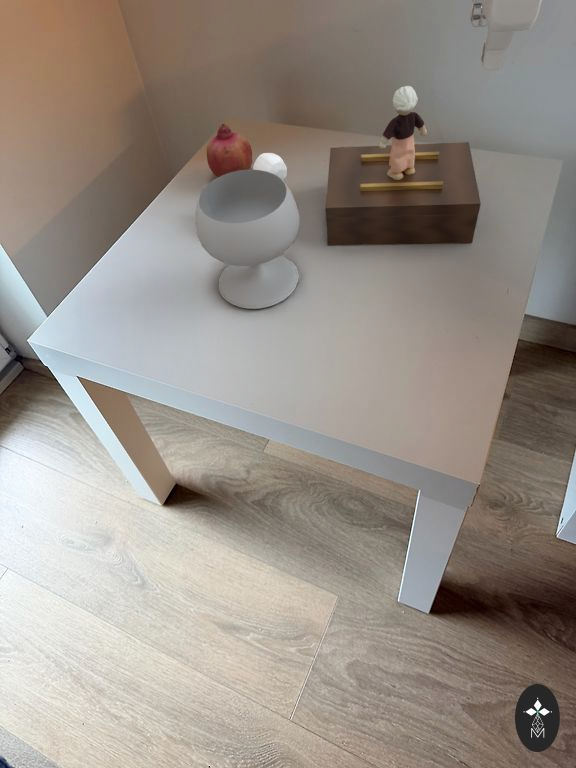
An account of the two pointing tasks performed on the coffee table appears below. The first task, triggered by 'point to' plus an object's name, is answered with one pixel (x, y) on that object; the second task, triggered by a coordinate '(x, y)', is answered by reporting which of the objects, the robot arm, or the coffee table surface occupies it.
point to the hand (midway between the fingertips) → (484, 44)
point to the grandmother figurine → (403, 133)
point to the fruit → (228, 152)
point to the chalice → (250, 236)
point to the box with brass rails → (402, 196)
